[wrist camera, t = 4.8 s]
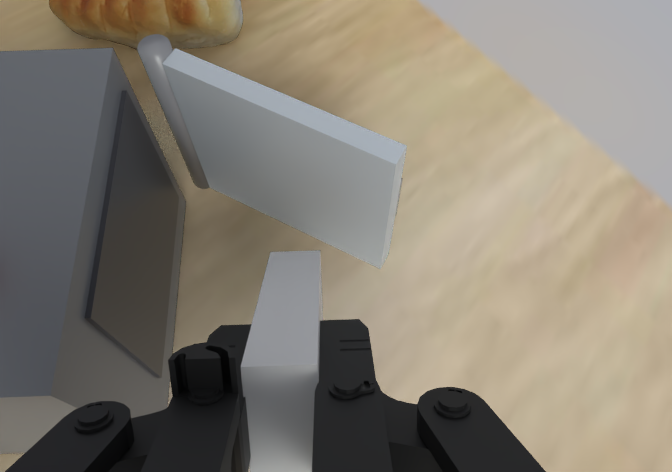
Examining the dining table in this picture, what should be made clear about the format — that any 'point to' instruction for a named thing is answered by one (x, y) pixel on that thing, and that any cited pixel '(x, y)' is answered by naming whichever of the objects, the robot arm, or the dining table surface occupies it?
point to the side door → (279, 152)
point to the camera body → (81, 243)
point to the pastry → (153, 20)
